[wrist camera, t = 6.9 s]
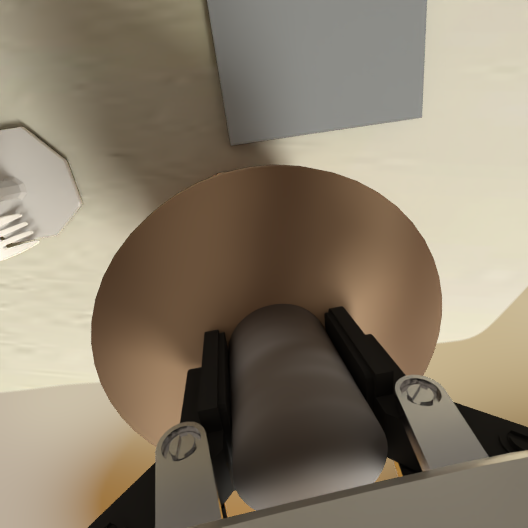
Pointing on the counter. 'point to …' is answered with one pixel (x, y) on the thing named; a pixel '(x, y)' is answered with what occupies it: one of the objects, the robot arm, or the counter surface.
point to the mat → (317, 64)
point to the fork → (13, 238)
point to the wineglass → (35, 185)
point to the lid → (268, 320)
